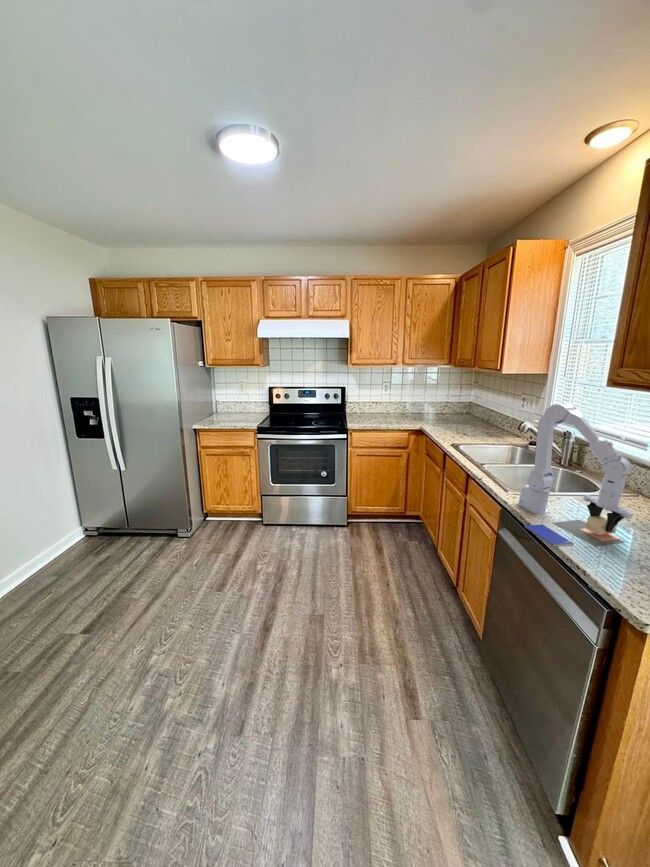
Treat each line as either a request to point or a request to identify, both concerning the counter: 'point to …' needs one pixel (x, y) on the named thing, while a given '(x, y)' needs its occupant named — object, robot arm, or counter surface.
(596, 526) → the maple block
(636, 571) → the counter surface
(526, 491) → the robot arm
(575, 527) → the rubber mat
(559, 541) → the hard drive
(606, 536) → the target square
